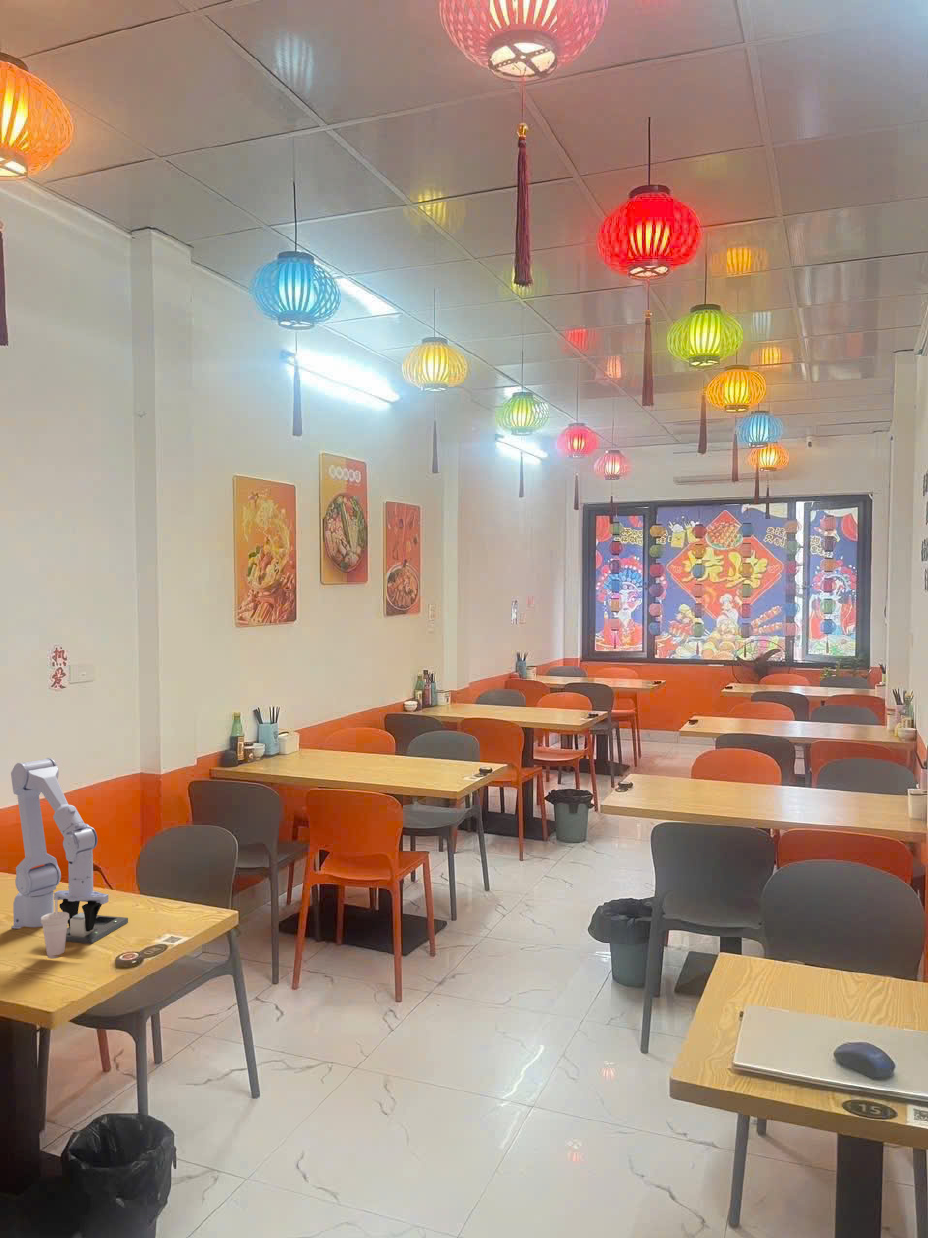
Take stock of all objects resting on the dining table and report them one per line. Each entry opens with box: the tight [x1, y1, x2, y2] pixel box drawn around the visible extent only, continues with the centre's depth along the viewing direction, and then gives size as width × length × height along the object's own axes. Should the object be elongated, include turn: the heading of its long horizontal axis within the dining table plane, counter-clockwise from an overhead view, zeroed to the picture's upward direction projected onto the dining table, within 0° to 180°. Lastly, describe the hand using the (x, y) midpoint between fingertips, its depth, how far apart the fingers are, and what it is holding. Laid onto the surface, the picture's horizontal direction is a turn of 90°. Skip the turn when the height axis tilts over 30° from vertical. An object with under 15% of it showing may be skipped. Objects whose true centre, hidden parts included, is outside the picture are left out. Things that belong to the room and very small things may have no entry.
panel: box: [65, 914, 129, 945], centre depth 227 cm, size 11×15×2 cm
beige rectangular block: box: [70, 912, 94, 937], centre depth 223 cm, size 4×4×6 cm
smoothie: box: [41, 899, 70, 959], centre depth 213 cm, size 6×6×14 cm
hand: (81, 929), depth 223 cm, fingers open, 4 cm apart
